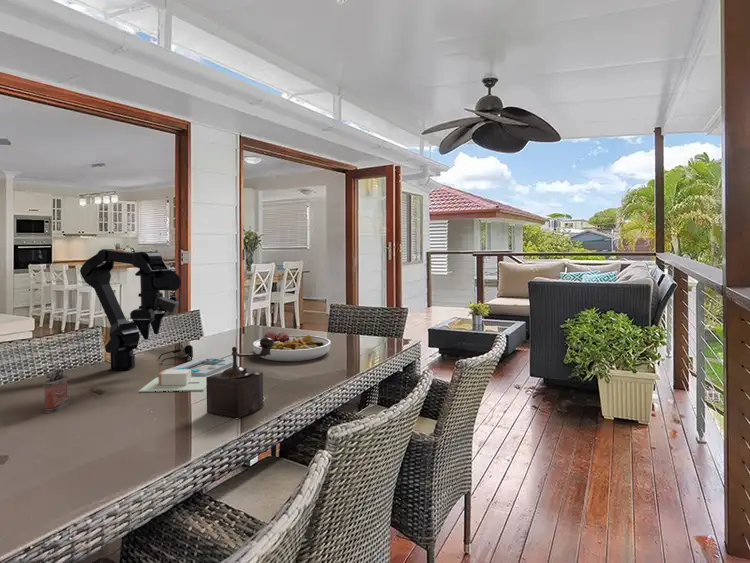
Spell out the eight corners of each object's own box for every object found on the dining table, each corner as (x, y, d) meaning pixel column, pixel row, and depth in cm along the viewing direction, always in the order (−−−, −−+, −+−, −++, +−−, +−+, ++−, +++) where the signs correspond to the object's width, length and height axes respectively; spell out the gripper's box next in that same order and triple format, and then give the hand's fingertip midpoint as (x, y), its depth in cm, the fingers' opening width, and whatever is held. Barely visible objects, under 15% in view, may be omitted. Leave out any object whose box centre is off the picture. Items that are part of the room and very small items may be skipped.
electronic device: (200, 356, 178) (236, 359, 174) (200, 362, 178) (236, 365, 174) (166, 368, 161) (205, 371, 156) (166, 375, 161) (205, 378, 157)
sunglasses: (197, 361, 178) (195, 348, 177) (162, 369, 171) (160, 356, 171) (190, 355, 187) (188, 343, 186) (157, 363, 180) (155, 350, 180)
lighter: (58, 402, 130) (57, 365, 129) (72, 402, 130) (70, 365, 130) (40, 412, 122) (39, 373, 121) (54, 412, 122) (53, 373, 122)
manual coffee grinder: (239, 420, 118) (239, 347, 117) (205, 413, 123) (204, 343, 122) (278, 401, 132) (277, 336, 131) (245, 396, 137) (245, 333, 136)
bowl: (345, 352, 196) (345, 333, 195) (295, 367, 170) (295, 345, 170) (289, 343, 212) (289, 326, 211) (236, 356, 186) (236, 336, 186)
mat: (138, 392, 140) (138, 390, 140) (156, 379, 153) (156, 377, 153) (203, 391, 141) (203, 389, 141) (214, 378, 155) (214, 376, 155)
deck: (186, 385, 145) (186, 373, 145) (158, 385, 144) (158, 373, 144) (191, 380, 150) (191, 369, 150) (164, 380, 149) (164, 369, 149)
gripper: (166, 292, 150) (167, 342, 152) (184, 287, 169) (185, 331, 170) (128, 292, 149) (130, 342, 151) (150, 287, 168) (152, 332, 169)
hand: (151, 336), depth 160 cm, fingers open, 9 cm apart
